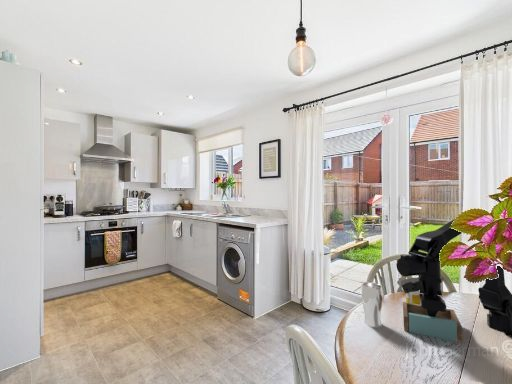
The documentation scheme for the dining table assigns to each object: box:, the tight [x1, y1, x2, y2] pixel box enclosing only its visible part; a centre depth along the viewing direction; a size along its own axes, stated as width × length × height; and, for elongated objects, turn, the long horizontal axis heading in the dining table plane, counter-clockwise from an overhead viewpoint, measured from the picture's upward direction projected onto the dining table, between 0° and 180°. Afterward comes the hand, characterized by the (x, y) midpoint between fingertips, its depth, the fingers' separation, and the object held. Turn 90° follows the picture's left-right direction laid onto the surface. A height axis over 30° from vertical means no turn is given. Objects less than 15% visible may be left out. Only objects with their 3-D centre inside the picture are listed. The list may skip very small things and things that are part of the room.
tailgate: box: [408, 313, 458, 342], centre depth 84 cm, size 13×1×7 cm, turn 61°
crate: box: [402, 301, 464, 343], centre depth 90 cm, size 16×13×6 cm
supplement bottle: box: [405, 290, 422, 305], centre depth 108 cm, size 5×5×10 cm
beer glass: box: [361, 281, 384, 329], centre depth 94 cm, size 7×7×15 cm
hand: (431, 319), depth 85 cm, fingers closed
